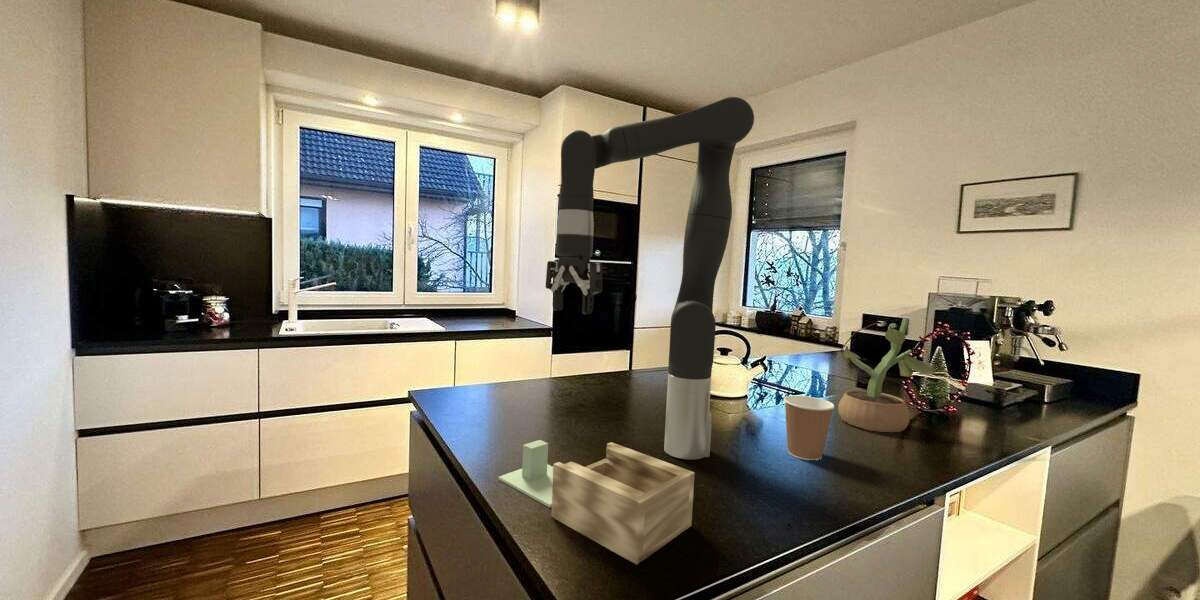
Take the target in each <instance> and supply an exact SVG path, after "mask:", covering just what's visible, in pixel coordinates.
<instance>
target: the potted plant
mask: <svg viewBox="0 0 1200 600" xmlns="http://www.w3.org/2000/svg"><path fill="white" fill-rule="evenodd" d="M908 323H909V319H908V318H902V321H901V324H900V327H899V329H898V330H897V329H895V328H897V324H896V323H890V324H889V325H888V327H887V330H886V332H885V333H884V338H885V339H886V340H888V342H890V350H889V351H888V352H887V353H886V354H885V355H884V356H882V357H881V361H880V362H879V363H878V364H877V365H876V366H875V368H874V369H873V368H872V367H870V366H869V365H867V364H865V363H864V362H862V361H861V360H862V358H861V357H860V356H859V355H857V354H856V353H855V352H852V351H851V350H850V349H849V346H848V345H846V346H845V351H843V357H846V358H849V360H850V361H851V362H852V363H853V364H854V365H855V366H857V367H858V368H859V369H861V370H863V371H864V372H865V373H867V374H868V375H870V379H869V381H868V385H867V387H866V388H867V390H860V389H859V390H858V389H857V390H848V391H845V392H844V394H843V396H842V397H841V398H840V401H839V402H838V406H837V408H838V409H837V410H838V415H839V417H840V419H841V421H843V420H844V422H845V423H846V422H847V423H849V424H851V425H854V426H856V427H860V428H863V429H868V430H873V431H881V432H898V433H900V432H902V431H904V430H906V429H907V427H908V425H909V423H910V417H911V416H910V411H909V409H908V407H907V403H906V401H905V400H904V399H903V398H900V397H898V396H896V395H895V396H894V395H891V394H888V393H884V392H883V393H882V391H883V390H882V388H883V382H884V380H885V377H886V375H887V372H888V370H889V369H890V368H892V367H893V366H894V365H896V364H898V367H899V376H900V377H906V378H907V377H908V378H909V377H911V376H913V371H915V372H916V373H919V374H923V375H933V376H935V375H936V373H935V372H934V368H933V366H932V365H930V364H929V363H927V362H925V361H923V360H922V361H921V360H919V359H917V358H914V357H912V356H910V354H911V353H912V349H908V350H906V351H904V352H902V353H901V354H899V353H900V352H901V349H902V346H903V344H904V343H905V341H906V336H905V335H906V331H907V328H908ZM847 423H846V424H847ZM849 424H848V425H849ZM851 425H850V426H851ZM856 427H855V428H856ZM863 429H862V430H863Z"/></svg>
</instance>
